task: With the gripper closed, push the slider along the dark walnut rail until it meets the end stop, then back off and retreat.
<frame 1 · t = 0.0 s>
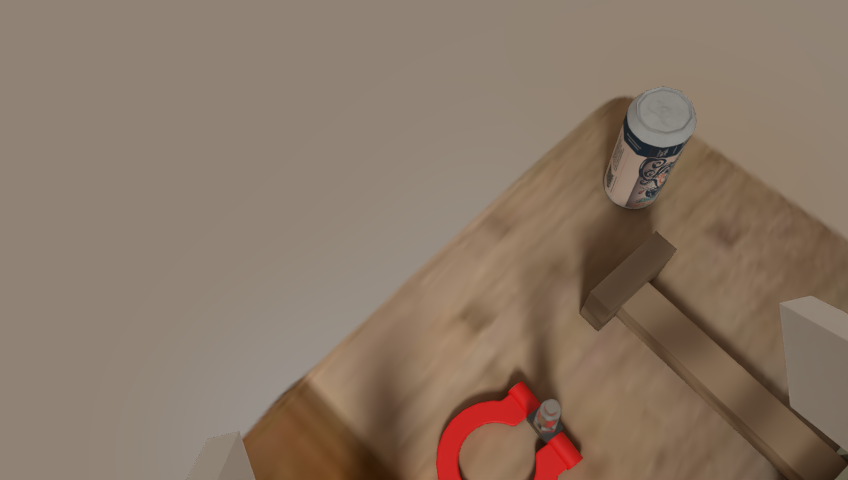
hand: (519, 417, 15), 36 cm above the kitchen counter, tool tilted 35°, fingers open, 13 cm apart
rail: (749, 416, 48), on the kitchen counter
beer can: (630, 187, 56), on the kitchen counter
tow hook: (501, 459, 49), on the kitchen counter
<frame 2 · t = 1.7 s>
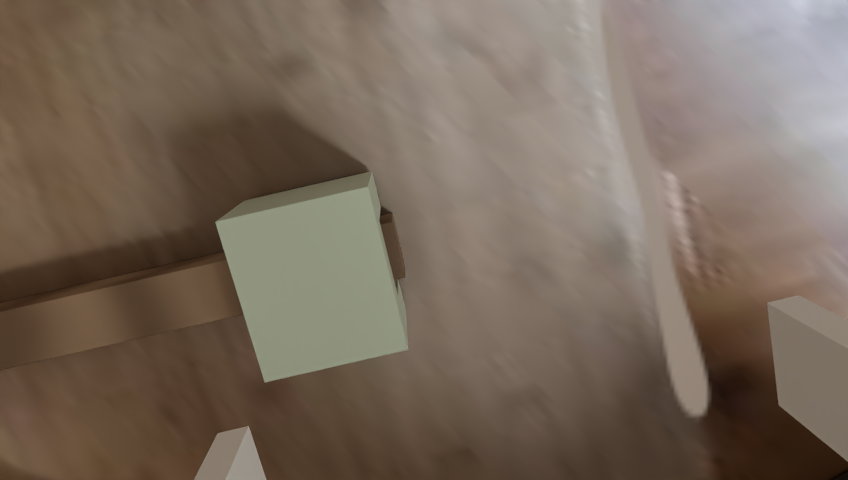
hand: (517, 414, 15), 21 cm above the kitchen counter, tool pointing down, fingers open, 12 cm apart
rail: (168, 291, 35), on the kitchen counter
slider: (321, 270, 32), point 3 cm above the kitchen counter, slide at 0.0 cm
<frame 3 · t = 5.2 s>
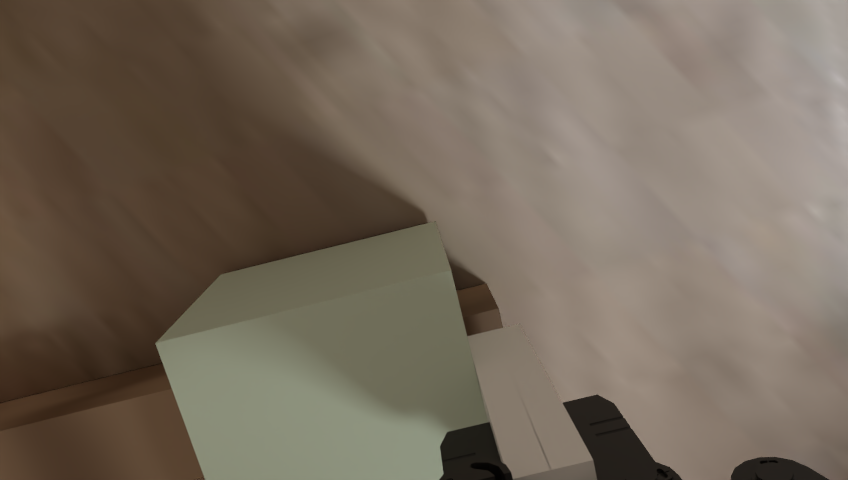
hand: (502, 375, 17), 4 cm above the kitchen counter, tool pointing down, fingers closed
rail: (119, 417, 22), on the kitchen counter
slider: (355, 402, 18), point 3 cm above the kitchen counter, slide at 0.7 cm, touching gripper
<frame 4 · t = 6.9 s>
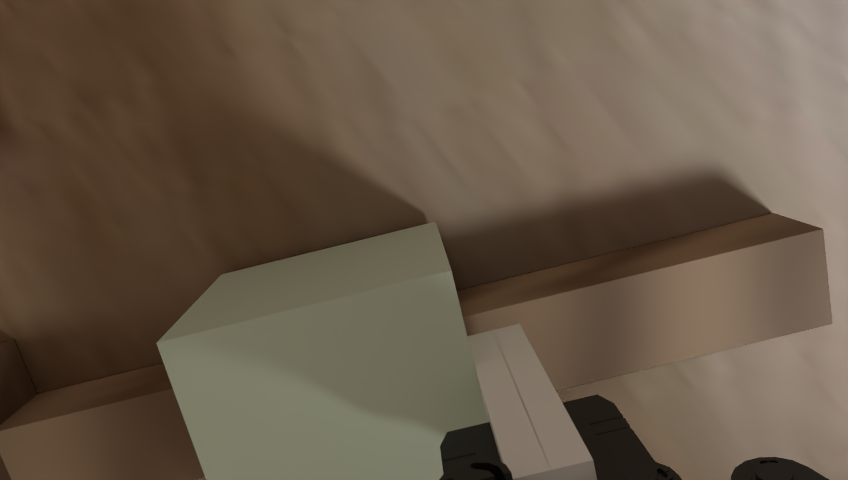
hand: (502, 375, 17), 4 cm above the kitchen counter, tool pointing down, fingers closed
rail: (399, 348, 21), on the kitchen counter
slider: (355, 402, 18), point 3 cm above the kitchen counter, slide at 10.3 cm, touching gripper
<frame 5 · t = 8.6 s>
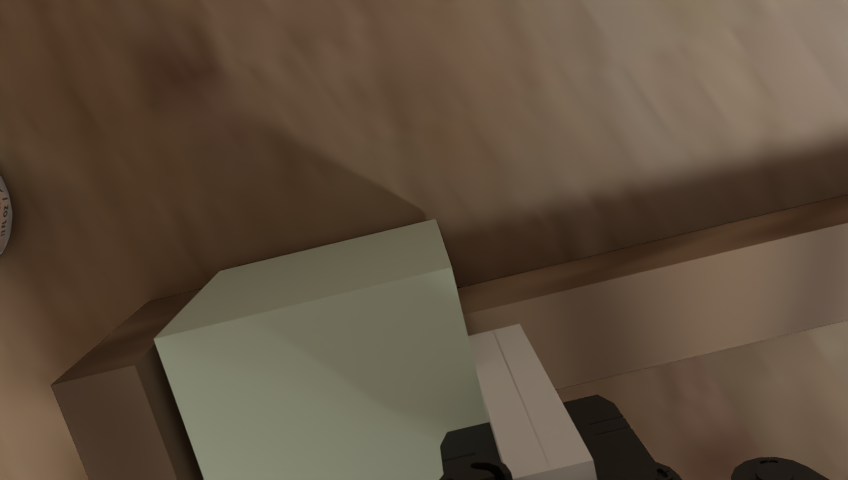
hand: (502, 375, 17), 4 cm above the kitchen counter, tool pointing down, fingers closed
rail: (590, 300, 21), on the kitchen counter
slider: (354, 400, 18), point 3 cm above the kitchen counter, slide at 16.9 cm, touching gripper
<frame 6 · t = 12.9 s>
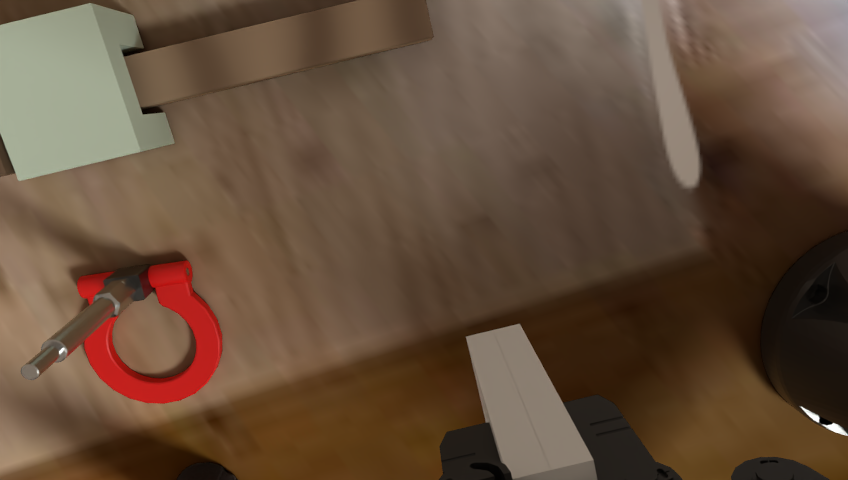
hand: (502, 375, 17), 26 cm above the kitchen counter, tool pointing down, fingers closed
rail: (225, 64, 40), on the kitchen counter
slider: (78, 94, 37), point 3 cm above the kitchen counter, slide at 17.0 cm
tow hook: (157, 331, 45), on the kitchen counter
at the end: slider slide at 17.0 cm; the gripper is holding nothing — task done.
